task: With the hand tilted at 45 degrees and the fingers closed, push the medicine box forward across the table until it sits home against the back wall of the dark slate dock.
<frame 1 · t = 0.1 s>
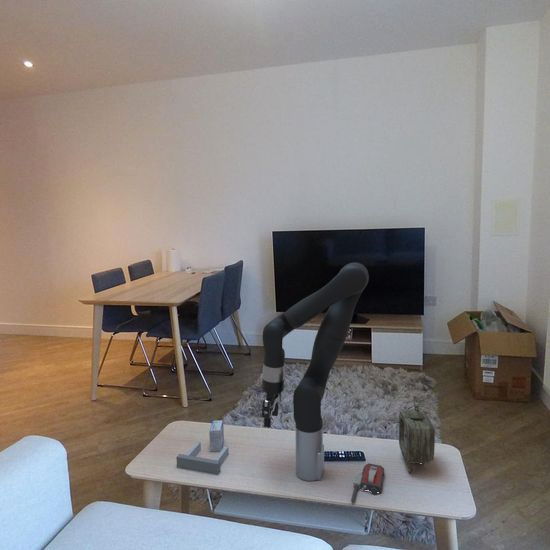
hand: (271, 421, 143), 17 cm above the table, tool pointing down, fingers open, 8 cm apart
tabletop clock: (415, 464, 145), on the table
dock: (205, 460, 150), on the table
walkie-talkie: (368, 488, 134), on the table
medicine box: (217, 446, 159), on the table
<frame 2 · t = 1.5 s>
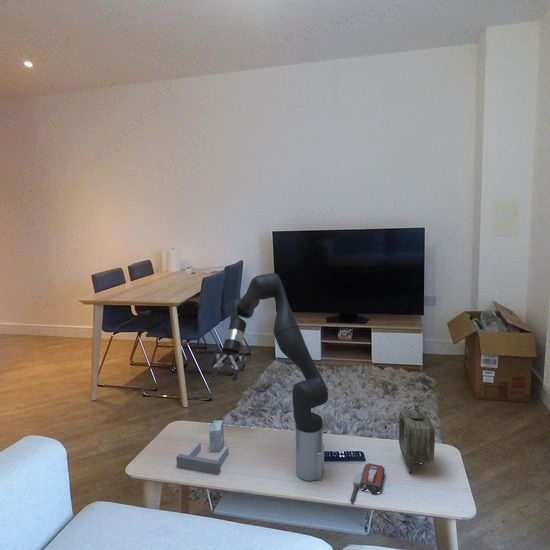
hand: (223, 379, 164), 24 cm above the table, tool tilted 45°, fingers open, 8 cm apart
nothing on the table moved.
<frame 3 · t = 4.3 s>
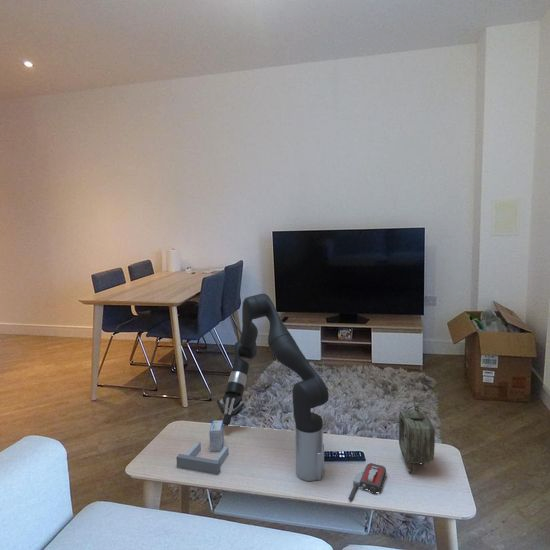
hand: (225, 424, 167), 4 cm above the table, tool tilted 45°, fingers closed
nothing on the table moved.
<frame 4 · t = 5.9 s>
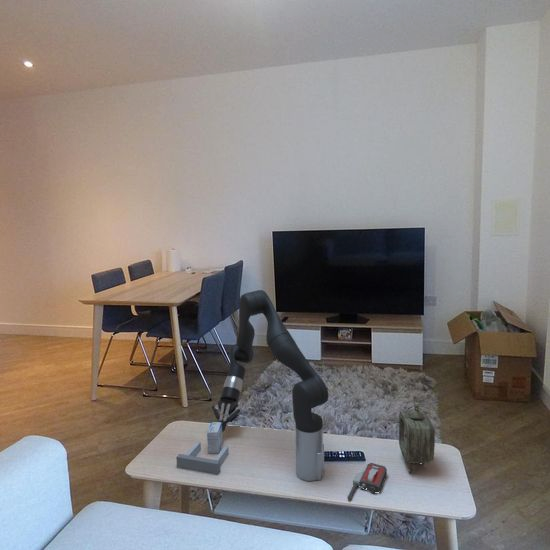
hand: (220, 431, 162), 4 cm above the table, tool tilted 45°, fingers closed
medicine box: (215, 448, 158), on the table, touching gripper
everything else where it was.
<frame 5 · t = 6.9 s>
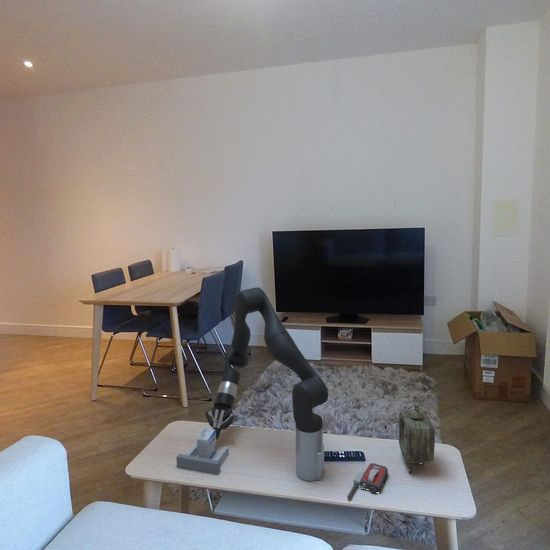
hand: (214, 439, 156), 4 cm above the table, tool tilted 45°, fingers closed
medicine box: (207, 456, 153), on the table, touching gripper
everything else where it was.
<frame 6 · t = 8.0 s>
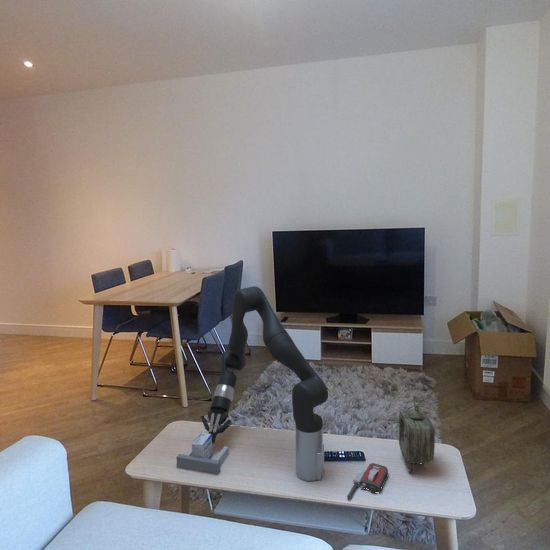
hand: (210, 443, 153), 4 cm above the table, tool tilted 45°, fingers closed
medicine box: (202, 461, 150), on the table, touching gripper
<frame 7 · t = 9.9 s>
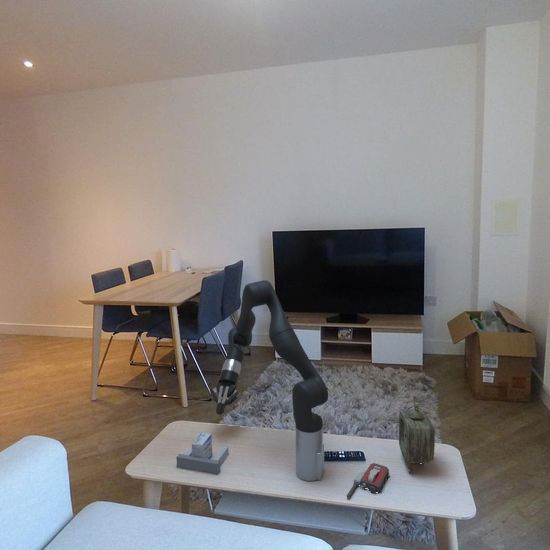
hand: (219, 414, 160), 12 cm above the table, tool tilted 45°, fingers closed
medicine box: (202, 461, 150), on the table
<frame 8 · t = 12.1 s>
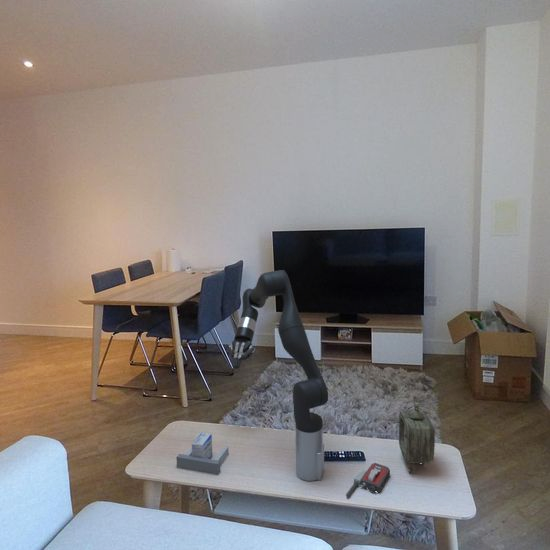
hand: (235, 368, 165), 28 cm above the table, tool tilted 45°, fingers closed
at the end: medicine box 1.2 cm off-centre on the dock, point 0.0 cm above the dock's base; medicine box tilted 0°; medicine box moved 10.4 cm from its start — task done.
